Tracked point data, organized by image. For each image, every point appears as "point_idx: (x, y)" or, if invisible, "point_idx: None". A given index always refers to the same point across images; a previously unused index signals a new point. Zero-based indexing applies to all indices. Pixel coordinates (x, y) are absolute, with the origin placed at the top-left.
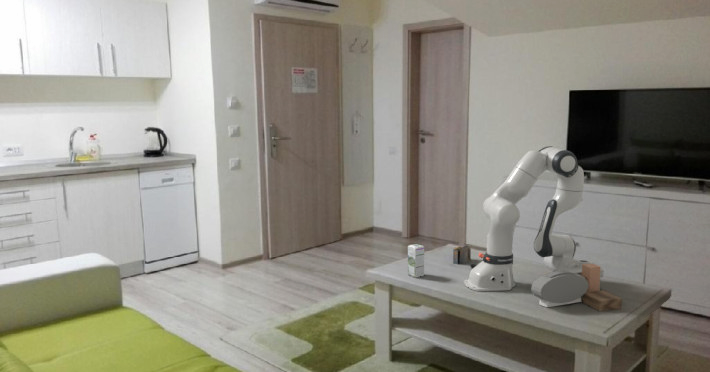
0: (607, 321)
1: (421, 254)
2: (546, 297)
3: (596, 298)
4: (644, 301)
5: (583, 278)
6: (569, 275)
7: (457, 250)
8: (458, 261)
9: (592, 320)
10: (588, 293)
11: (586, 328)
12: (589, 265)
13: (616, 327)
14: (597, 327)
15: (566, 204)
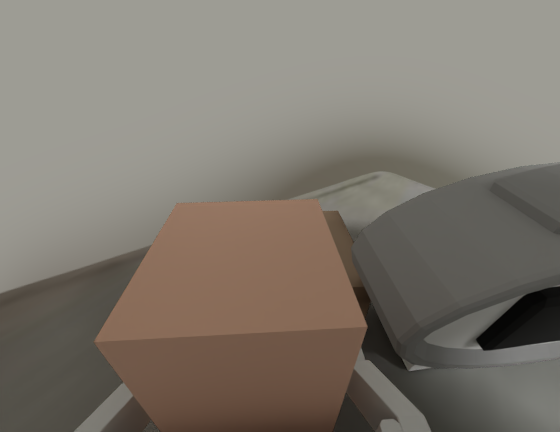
0: (345, 199)
1: None
2: None
3: (339, 226)
4: (90, 276)
5: (404, 205)
6: (529, 169)
7: None
8: None
9: (382, 206)
10: (348, 271)
11: (409, 187)
12: (273, 246)
13: (339, 183)
14: (382, 187)
15: None
